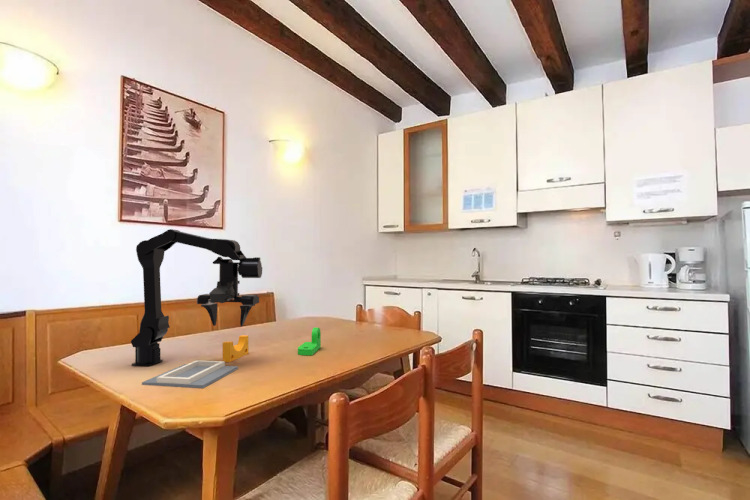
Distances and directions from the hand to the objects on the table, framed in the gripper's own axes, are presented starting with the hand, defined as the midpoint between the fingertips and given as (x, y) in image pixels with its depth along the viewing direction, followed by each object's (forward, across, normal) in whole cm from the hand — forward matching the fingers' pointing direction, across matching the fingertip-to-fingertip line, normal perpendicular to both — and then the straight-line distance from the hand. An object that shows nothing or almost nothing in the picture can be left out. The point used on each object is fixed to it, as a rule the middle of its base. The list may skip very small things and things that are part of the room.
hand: (228, 325), depth 127 cm
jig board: (+12, -3, -15) cm, 19 cm away
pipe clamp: (+12, -1, +7) cm, 14 cm away
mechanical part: (+12, +22, +18) cm, 31 cm away
